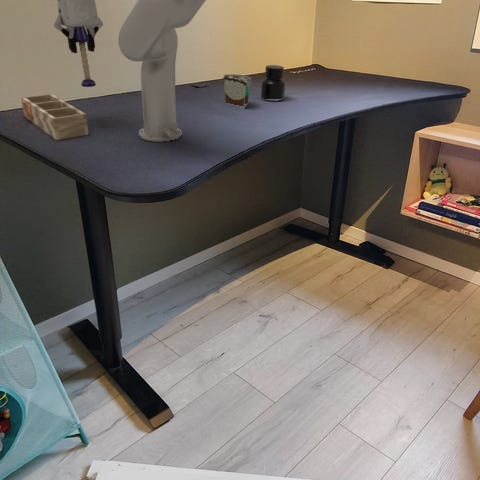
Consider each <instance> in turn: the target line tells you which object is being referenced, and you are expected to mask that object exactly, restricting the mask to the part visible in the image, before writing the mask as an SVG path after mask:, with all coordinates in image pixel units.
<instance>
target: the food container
mask: <svg viewBox="0 0 480 480" xmlns="http://www.w3.org/2000/svg"><path fill="white" fill-rule="evenodd" d="M222 77H223V79H222V81H223V88H224V90H223V91H224V104H226V103H230V104H234V105H239V106H243V107H245V106H247V107H248V102H249V97H250V90H251V89H250V88H251V86H253V80H252V78H251V77H250V76H248V75H242V74H232V73H230V74H229V73H228V74H223V76H222Z"/></svg>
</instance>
